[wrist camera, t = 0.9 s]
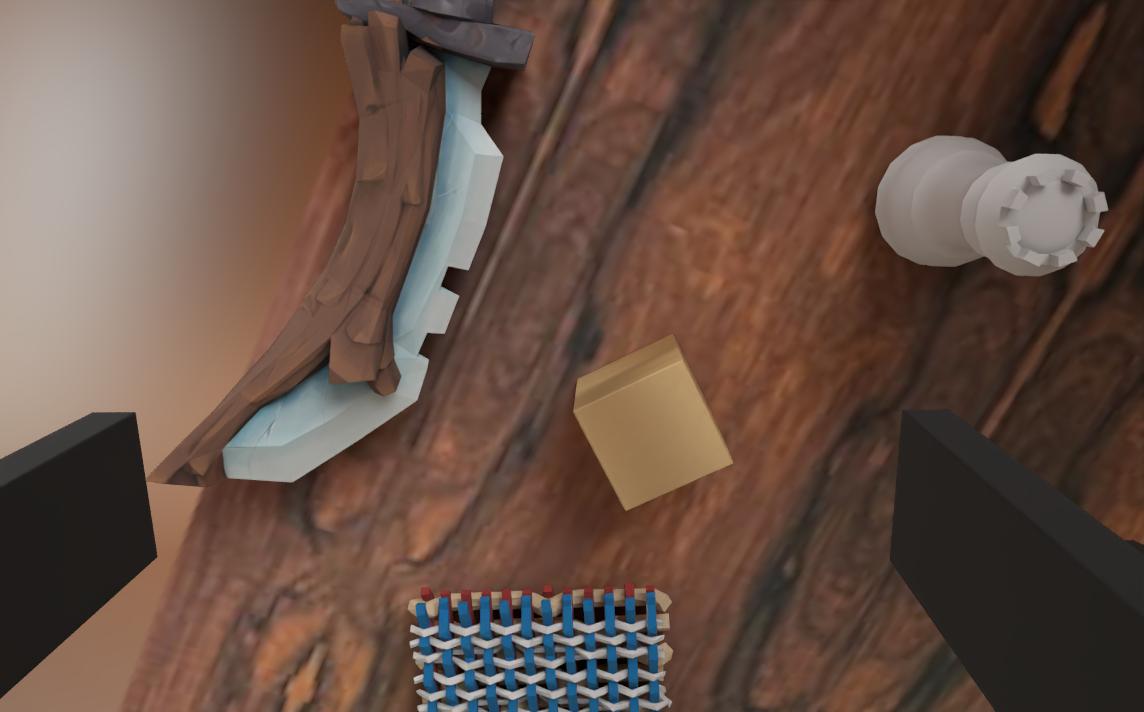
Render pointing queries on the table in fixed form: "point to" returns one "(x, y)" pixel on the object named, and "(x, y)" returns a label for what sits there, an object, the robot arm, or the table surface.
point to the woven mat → (541, 651)
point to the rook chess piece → (987, 207)
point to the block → (649, 423)
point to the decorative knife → (374, 248)
